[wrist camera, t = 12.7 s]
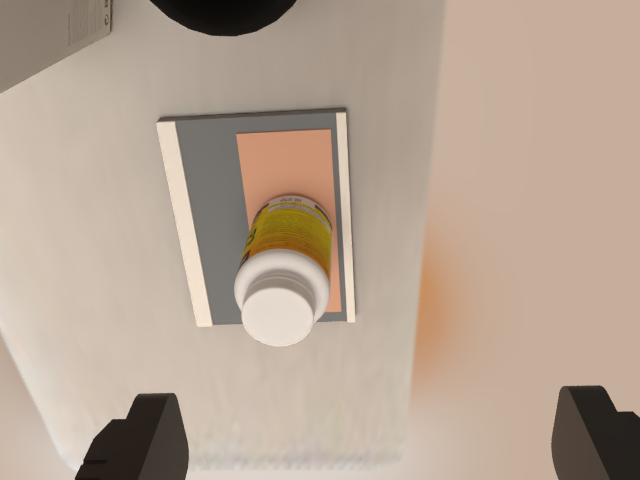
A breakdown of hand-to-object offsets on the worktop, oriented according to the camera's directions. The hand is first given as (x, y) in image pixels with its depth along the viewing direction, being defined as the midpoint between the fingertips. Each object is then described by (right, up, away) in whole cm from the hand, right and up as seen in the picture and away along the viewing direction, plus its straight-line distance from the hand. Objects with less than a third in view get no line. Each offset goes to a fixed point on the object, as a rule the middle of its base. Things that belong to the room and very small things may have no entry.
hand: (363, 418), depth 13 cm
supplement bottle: (-3, +5, +29) cm, 29 cm away
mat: (-5, +5, +30) cm, 30 cm away
